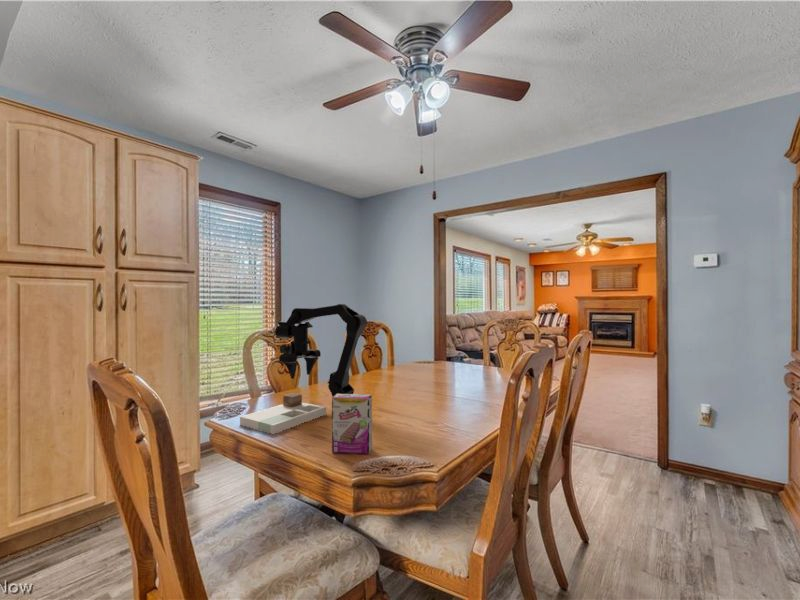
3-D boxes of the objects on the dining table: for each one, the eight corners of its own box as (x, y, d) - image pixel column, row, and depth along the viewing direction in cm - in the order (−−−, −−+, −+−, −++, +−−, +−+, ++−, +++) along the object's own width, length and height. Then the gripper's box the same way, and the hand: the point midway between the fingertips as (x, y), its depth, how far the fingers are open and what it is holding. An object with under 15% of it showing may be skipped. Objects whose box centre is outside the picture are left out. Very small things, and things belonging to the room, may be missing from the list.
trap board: (326, 414, 148) (326, 407, 148) (273, 434, 127) (273, 425, 127) (294, 407, 158) (294, 400, 158) (239, 425, 137) (239, 416, 137)
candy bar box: (331, 454, 110) (331, 397, 110) (336, 447, 115) (335, 393, 115) (369, 455, 109) (369, 398, 109) (372, 448, 114) (372, 393, 114)
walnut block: (301, 404, 152) (301, 394, 152) (292, 407, 148) (291, 397, 148) (293, 402, 155) (293, 392, 155) (283, 405, 150) (283, 395, 150)
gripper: (301, 335, 169) (301, 371, 169) (268, 339, 152) (268, 378, 152) (321, 336, 163) (321, 373, 163) (289, 341, 147) (289, 381, 147)
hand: (300, 376), depth 157 cm, fingers open, 9 cm apart
